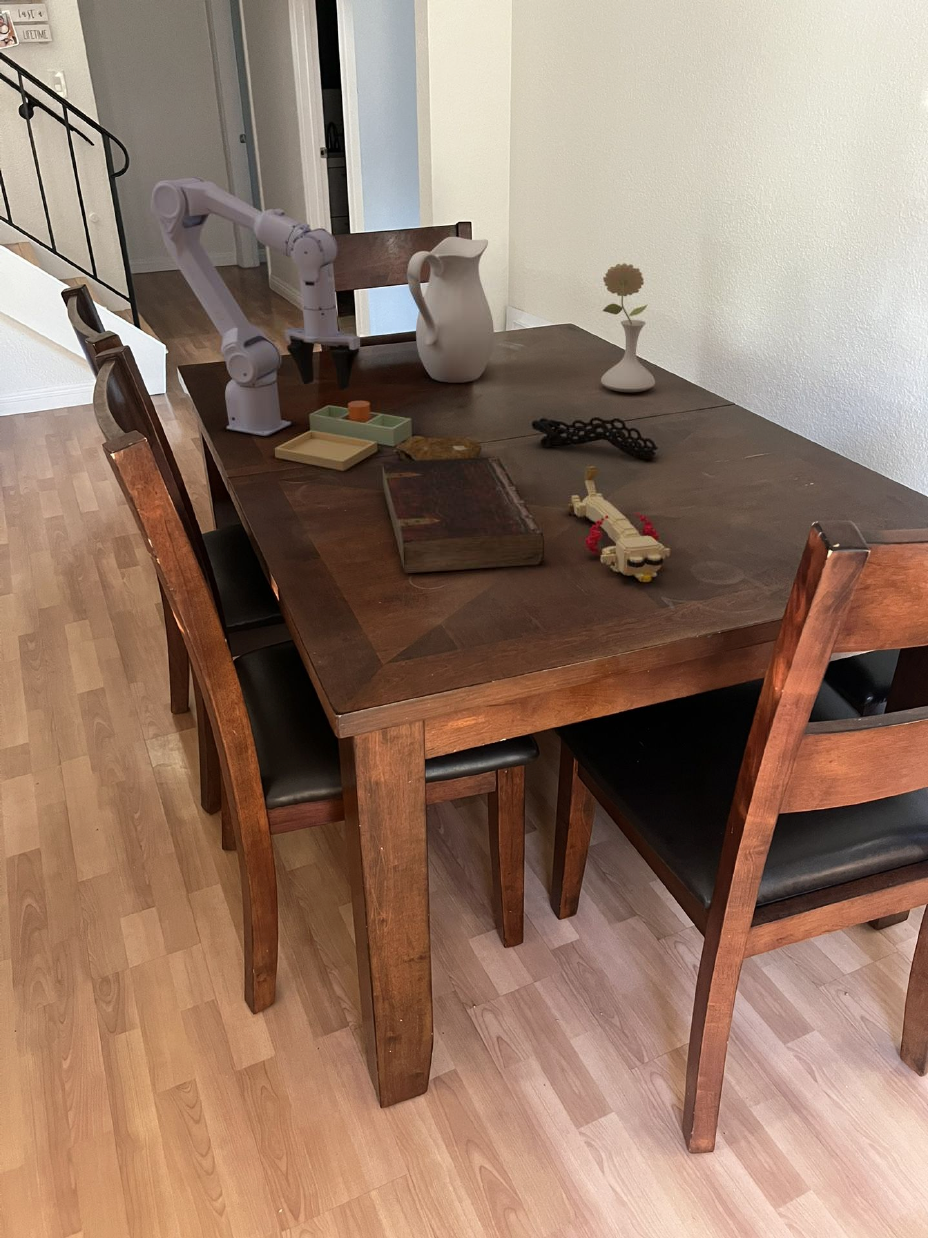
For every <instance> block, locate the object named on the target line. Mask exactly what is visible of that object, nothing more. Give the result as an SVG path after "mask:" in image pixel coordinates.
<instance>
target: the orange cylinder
mask: <svg viewBox="0 0 928 1238" xmlns="http://www.w3.org/2000/svg"><path fill="white" fill-rule="evenodd" d="M347 408H348V412H349V421H355V422H361V423H365V422H367V421H369V420H371V413H370V412H371V403H370V401H366V400H352V401H350V402H349V403H347Z"/></svg>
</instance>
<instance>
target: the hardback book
mask: <svg viewBox="0 0 928 1238" xmlns="http://www.w3.org/2000/svg"><path fill="white" fill-rule="evenodd" d="M381 467H382V468H381V469H382V482H383V483H382V485H383V492H384V496H385V500H386V504H387V508H388V513H389V515H390V516H389V517H390V520H391V524H392V528H393V532H394V535H395V540H396V543H397V548H398V551H399V556H400V560H401V564H402V567H403V572H404V574H412V573H414V574H415V573H426V572H430V573H431V572H441V571H444V572H445V571H459V570H474V569H475V570H476V569H489V568H491V569H492V568H504V567H506V568H507V567H520V566H533V565H542V563H543V559H544V554H545V539H544V534H543V531H542V530H541V529H540V527H539V524H538V523H537V521H536V519H535V518H534V517H533V514H532V513H531V511H530V510H529V508H528V506H527V505H526V503H525V501H524V499H523V498H522V496H521V494H520V492H519V490H518V489H517V488H516V485H515V484H514V482H513V481H512V478H511V477H510V475H509V473H508V472H507V469H506V468H505V466H504V465H503V463H502V462H501V460H500V458H499V456H484V457H482V456H481V457H480V458H459V459H437V460H410V461H403V460H397V461H394V460H393V461H381Z"/></svg>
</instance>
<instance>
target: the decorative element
mask: <svg viewBox="0 0 928 1238" xmlns="http://www.w3.org/2000/svg"><path fill="white" fill-rule="evenodd" d="M596 421H597V422H596ZM594 422H596V423H594ZM615 422H617V423H619V424H621V427H619V426H617V425H616V424H615ZM576 424H580V425H576ZM561 425H562V426H563V427H561ZM608 425H610V426H611V427H608ZM564 427H565V428H564ZM587 427H591V428H587ZM531 428H532V429H533V430H535V431H538V432H539V433H542V434H545V436H543V437H542V438H541V439H540V445H541V446H542V447H543V448H545V449H547V448H550V447H567V446H573V445H581V444H586V443H590V442H598V441H607V442H608V443H610V444H611V445H612V446H613V447H615V448H617V449H618V450H619V451H621V452H623V453H625V454H627V455H629V456H632V457H635V458H639V459H642V460H646V461H652V460H653V458H654V456H655V455H656V453H657V452H656V451H657V450H658V446H657V445H656V443H655V442H654V441H653V440H652V439H651V438H648V437H646V438H644V437H642V434H641V432H640V430H639V429H637V428H635V427H630V428H628V426H626V422H625V421H624V420H622V419H621V418H618V417H614V418H612V419H603V418H602V417H597V416H595V417H591V418H590V419H589V422H585V421H584V420H581V419H576V420H574V421H572V423H571V424H568V423H566V422H564V421H561V420H560V421H558V420H555V419H548V418H546V417H542V418H540V419H539V420H537V419H536V420H533V421H532V422H531ZM570 429H573V430H572V431H571V430H570ZM598 429H601V430H602V431H598ZM624 431H625V432H627V436H626V433H625V432H624ZM581 432H583V433H582V434H581ZM632 432H634V433H636V435H637V437H634V436H633V435H632ZM564 434H565V436H564ZM575 437H576V438H575ZM640 441H641V442H642V443H643V444H642V443H641V442H640ZM648 443H649V444H650V445H651V446H650V445H648Z"/></svg>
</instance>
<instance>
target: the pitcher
mask: <svg viewBox="0 0 928 1238" xmlns="http://www.w3.org/2000/svg"><path fill="white" fill-rule="evenodd" d="M488 245H489V240H488V239H469V238H464V237H459V236H448V237H446V238H444V239H443V240H441V242H439V243H438V244H437V245H436V246H435V247H434V248H433V249H432V250H431V251H428V250H427V251H426V250H421V251H417V252H416V253H414V254H413V255H412V256H411V258H410V260H409V261H408V265H407V271H406V273H407V275H406V276H407V283H408V288H409V292H410V294H411V297H412V298H413V300H414V303H415V305H416V307H417V308H418V314H417V319H416V327H415V328H416V329H415V340H416V347H417V352H418V356H419V359H420V361H421V363H422V365H423V367H424V369H425V371H426V372H427V373H428V375H429V377H431V379H433V380H434V381H435V380H436V381H438V382H440V383H441V382H442V383H448V384H449V383H452V384H457V383H458V384H460V383H462V384H463V383H469V382H473V381H475V380H478V379H479V378H481V376H482V375H483V373H484V371H485V370H486V368H487V365H488V363H489V362H490V359H491V356H492V353H493V348H494V341H495V340H494V339H495V329H494V328H495V327H494V320H493V315H492V310H491V308H490V305H489V302H488V300H487V296H486V294H485V291H484V287H483V285H482V281H481V276H480V269H479V268H480V261H481V257H482V256H483V254H484V252H485V251H486V249H487V247H488ZM425 261H426V262H428V264H429V267H430V272H429V273H430V274H429V279H428V283H427V286H426V289H425V292H424V293H423V291H422V286H421V269H422V265H423V263H424V262H425ZM423 294H424V295H423Z"/></svg>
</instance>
